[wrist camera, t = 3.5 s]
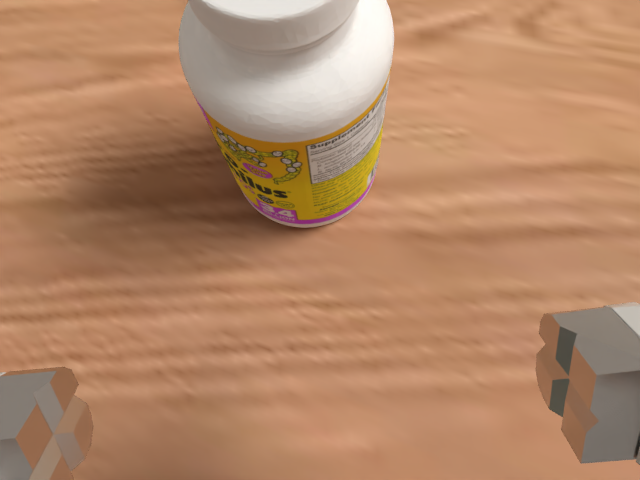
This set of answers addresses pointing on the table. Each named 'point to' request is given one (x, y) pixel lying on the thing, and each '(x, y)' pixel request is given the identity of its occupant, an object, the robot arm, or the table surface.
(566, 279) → the table surface
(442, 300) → the table surface
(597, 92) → the table surface
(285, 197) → the supplement bottle
